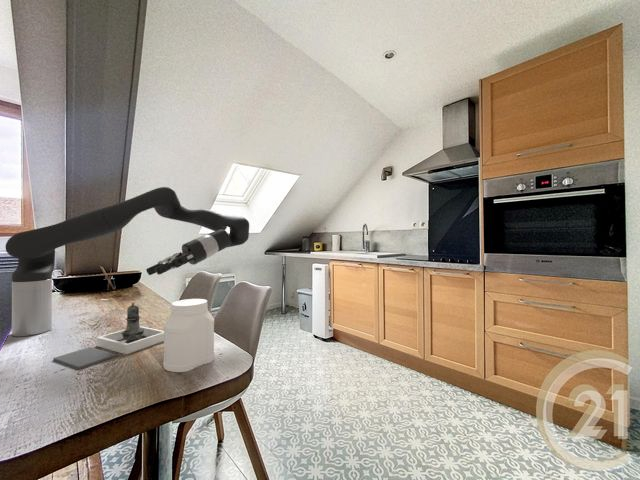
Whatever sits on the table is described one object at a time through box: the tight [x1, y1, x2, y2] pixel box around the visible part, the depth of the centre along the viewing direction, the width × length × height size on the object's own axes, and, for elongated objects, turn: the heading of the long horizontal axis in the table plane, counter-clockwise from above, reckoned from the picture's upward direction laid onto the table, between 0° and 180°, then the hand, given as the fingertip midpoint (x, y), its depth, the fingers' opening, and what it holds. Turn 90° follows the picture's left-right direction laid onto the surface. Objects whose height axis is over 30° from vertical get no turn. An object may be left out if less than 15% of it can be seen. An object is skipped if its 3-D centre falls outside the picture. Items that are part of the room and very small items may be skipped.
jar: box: [162, 298, 215, 373], centre depth 70 cm, size 12×10×15 cm
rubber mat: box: [53, 346, 117, 370], centre depth 71 cm, size 12×8×1 cm, turn 65°
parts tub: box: [95, 325, 164, 355], centre depth 82 cm, size 14×12×2 cm
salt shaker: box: [121, 302, 145, 344], centre depth 82 cm, size 6×6×12 cm
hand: (151, 272), depth 82 cm, fingers open, 8 cm apart
